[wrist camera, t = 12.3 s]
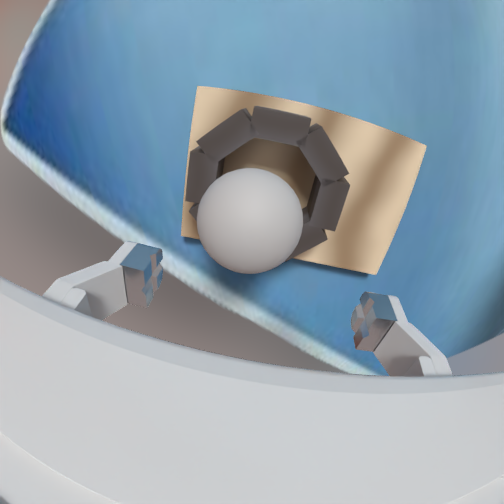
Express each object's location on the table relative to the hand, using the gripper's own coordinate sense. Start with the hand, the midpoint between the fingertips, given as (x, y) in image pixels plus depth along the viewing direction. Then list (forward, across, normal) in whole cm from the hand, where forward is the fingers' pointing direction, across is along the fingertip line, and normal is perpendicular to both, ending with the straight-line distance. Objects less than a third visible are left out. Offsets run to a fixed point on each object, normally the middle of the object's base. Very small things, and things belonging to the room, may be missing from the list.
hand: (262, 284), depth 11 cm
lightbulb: (+14, +1, +1) cm, 14 cm away
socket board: (+16, -2, 0) cm, 16 cm away
